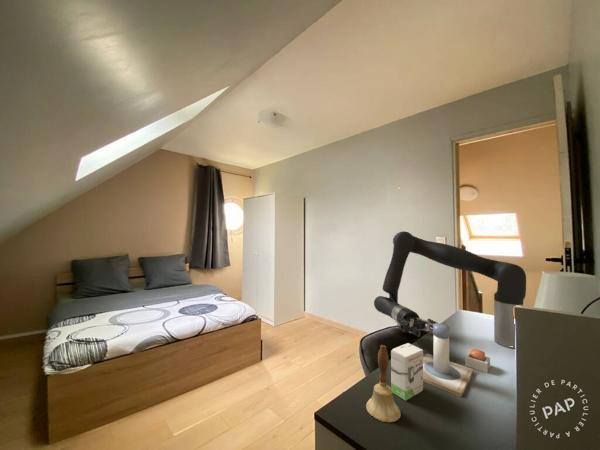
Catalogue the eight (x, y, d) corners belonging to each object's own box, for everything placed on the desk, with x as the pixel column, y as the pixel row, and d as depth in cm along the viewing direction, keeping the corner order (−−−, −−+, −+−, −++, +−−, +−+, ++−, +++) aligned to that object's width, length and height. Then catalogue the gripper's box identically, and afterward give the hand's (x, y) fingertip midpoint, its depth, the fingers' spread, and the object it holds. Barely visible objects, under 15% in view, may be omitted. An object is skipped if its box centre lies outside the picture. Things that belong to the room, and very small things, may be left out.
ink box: (406, 401, 65) (406, 357, 65) (390, 391, 69) (390, 349, 69) (423, 390, 69) (423, 349, 70) (407, 381, 73) (408, 342, 74)
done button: (471, 353, 86) (471, 347, 86) (485, 357, 83) (485, 351, 83) (469, 357, 83) (469, 351, 83) (483, 361, 80) (483, 355, 80)
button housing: (469, 359, 87) (468, 350, 87) (490, 366, 83) (490, 357, 83) (465, 365, 83) (465, 356, 83) (487, 373, 78) (487, 363, 79)
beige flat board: (427, 356, 89) (427, 353, 89) (473, 372, 79) (473, 368, 79) (408, 375, 77) (409, 371, 77) (461, 397, 67) (461, 392, 67)
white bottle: (444, 366, 80) (444, 323, 80) (452, 374, 75) (452, 329, 76) (430, 365, 80) (430, 323, 80) (437, 373, 76) (437, 328, 76)
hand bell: (359, 402, 64) (360, 341, 64) (385, 396, 67) (386, 337, 67) (379, 426, 56) (380, 356, 57) (408, 418, 59) (408, 351, 59)
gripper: (388, 308, 98) (412, 323, 82) (421, 307, 100) (450, 322, 84) (388, 326, 98) (411, 345, 82) (421, 325, 100) (450, 343, 84)
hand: (431, 333), depth 83 cm, fingers open, 8 cm apart
